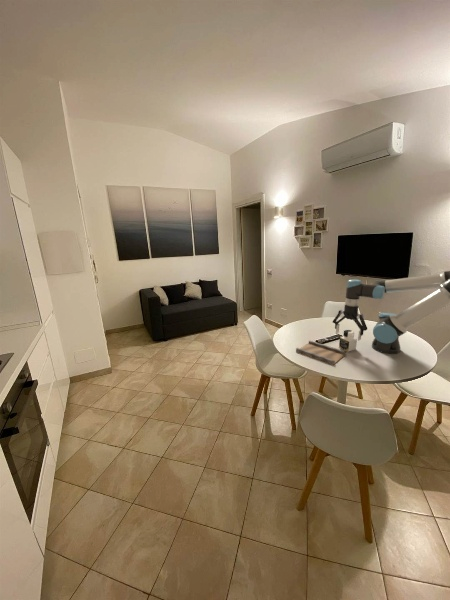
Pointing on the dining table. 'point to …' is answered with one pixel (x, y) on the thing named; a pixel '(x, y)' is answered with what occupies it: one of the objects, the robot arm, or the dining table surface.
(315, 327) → the dining table surface
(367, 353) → the dining table surface
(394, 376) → the dining table surface
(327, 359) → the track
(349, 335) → the medicine bottle
